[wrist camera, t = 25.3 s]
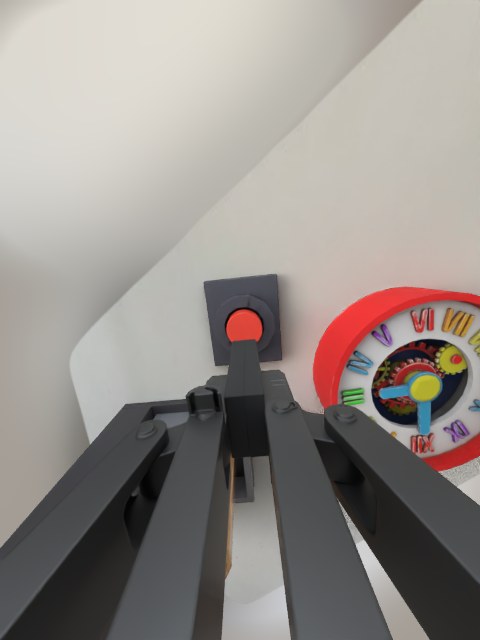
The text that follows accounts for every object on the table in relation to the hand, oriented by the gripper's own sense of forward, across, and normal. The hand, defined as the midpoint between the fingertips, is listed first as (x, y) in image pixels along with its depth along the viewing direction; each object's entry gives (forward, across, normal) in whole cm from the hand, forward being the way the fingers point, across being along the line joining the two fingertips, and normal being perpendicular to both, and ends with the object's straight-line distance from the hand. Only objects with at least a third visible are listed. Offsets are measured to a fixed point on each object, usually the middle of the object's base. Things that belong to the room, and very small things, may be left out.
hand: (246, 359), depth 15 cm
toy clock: (+13, +18, -8) cm, 23 cm away
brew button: (+9, 0, 0) cm, 9 cm away
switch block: (+13, 0, 0) cm, 13 cm away
